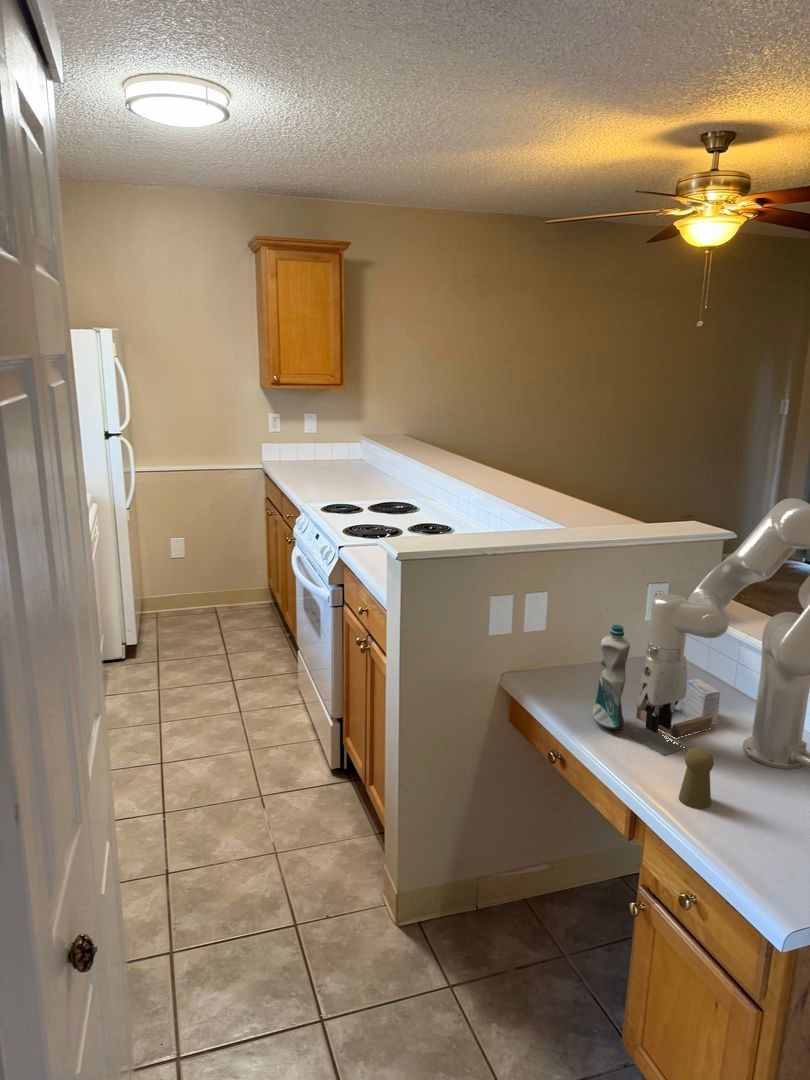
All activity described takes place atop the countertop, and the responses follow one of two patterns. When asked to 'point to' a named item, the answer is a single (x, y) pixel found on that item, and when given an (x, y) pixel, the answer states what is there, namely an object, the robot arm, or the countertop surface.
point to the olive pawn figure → (697, 779)
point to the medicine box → (700, 700)
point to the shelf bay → (680, 724)
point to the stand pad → (655, 741)
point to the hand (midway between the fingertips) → (658, 727)
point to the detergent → (611, 680)
